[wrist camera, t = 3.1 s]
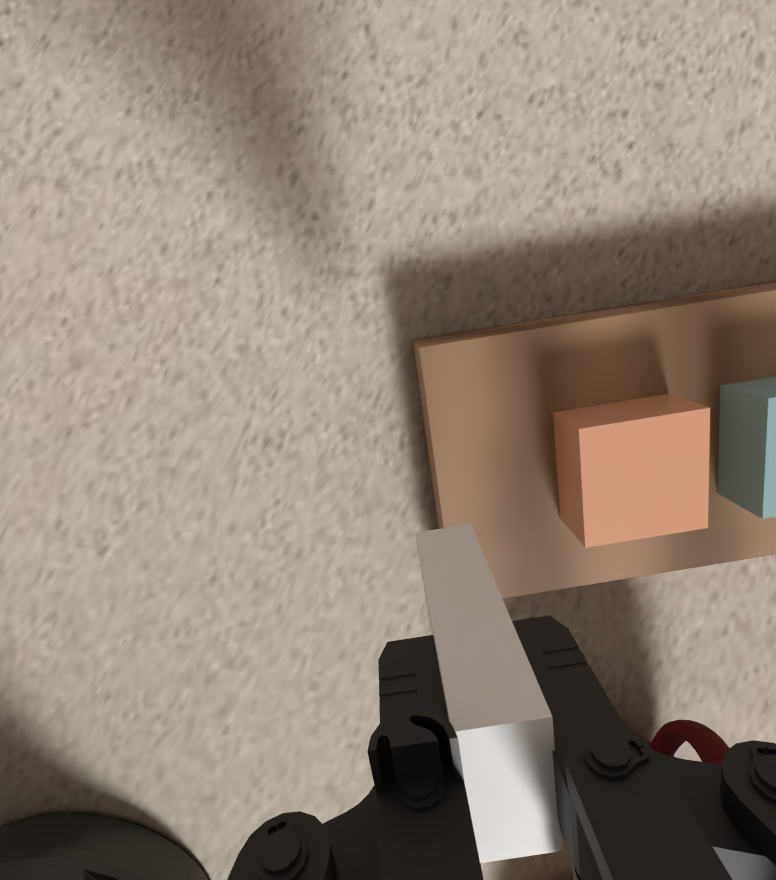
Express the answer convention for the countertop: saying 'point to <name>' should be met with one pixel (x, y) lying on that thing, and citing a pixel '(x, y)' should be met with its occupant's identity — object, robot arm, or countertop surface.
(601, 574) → the tan wooden flat box
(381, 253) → the countertop surface
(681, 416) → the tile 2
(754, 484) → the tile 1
